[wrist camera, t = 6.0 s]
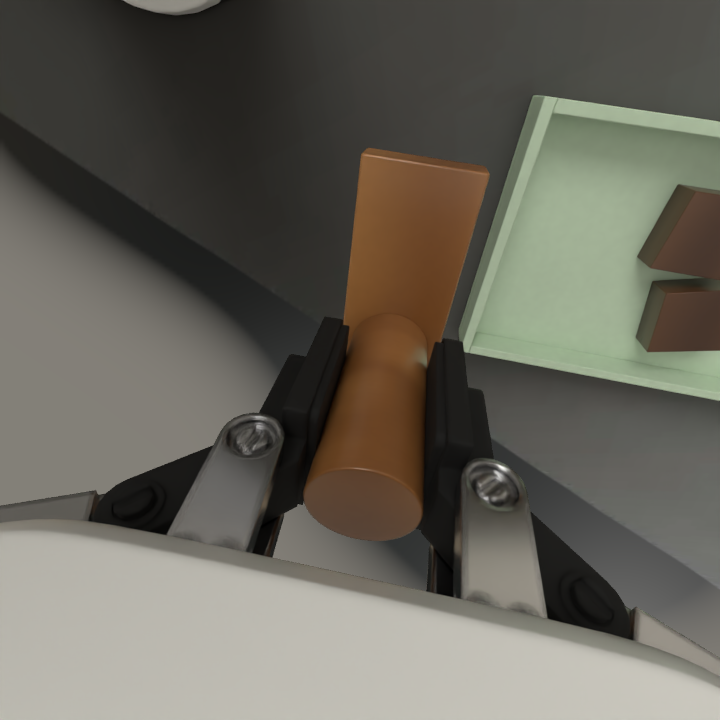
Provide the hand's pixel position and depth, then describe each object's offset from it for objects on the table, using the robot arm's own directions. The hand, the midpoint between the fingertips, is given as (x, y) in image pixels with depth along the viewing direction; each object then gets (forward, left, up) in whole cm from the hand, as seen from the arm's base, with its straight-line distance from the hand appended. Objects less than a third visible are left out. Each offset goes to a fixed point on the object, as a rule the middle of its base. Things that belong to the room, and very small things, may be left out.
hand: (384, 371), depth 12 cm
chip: (+17, -2, -15) cm, 23 cm away
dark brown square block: (+15, +2, -15) cm, 21 cm away
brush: (0, 0, -4) cm, 4 cm away
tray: (+15, 0, -16) cm, 22 cm away
